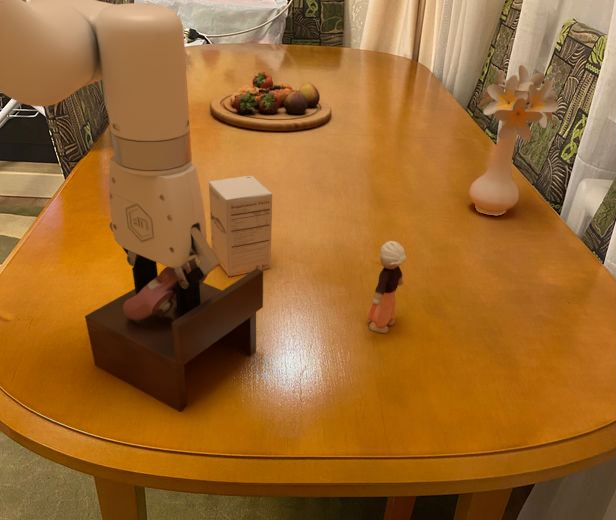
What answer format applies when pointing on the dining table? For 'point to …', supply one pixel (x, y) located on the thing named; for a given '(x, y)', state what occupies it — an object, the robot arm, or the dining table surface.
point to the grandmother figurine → (387, 287)
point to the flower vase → (511, 134)
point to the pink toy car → (155, 296)
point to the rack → (174, 337)
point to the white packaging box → (241, 224)
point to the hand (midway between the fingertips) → (168, 300)
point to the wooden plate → (271, 106)
